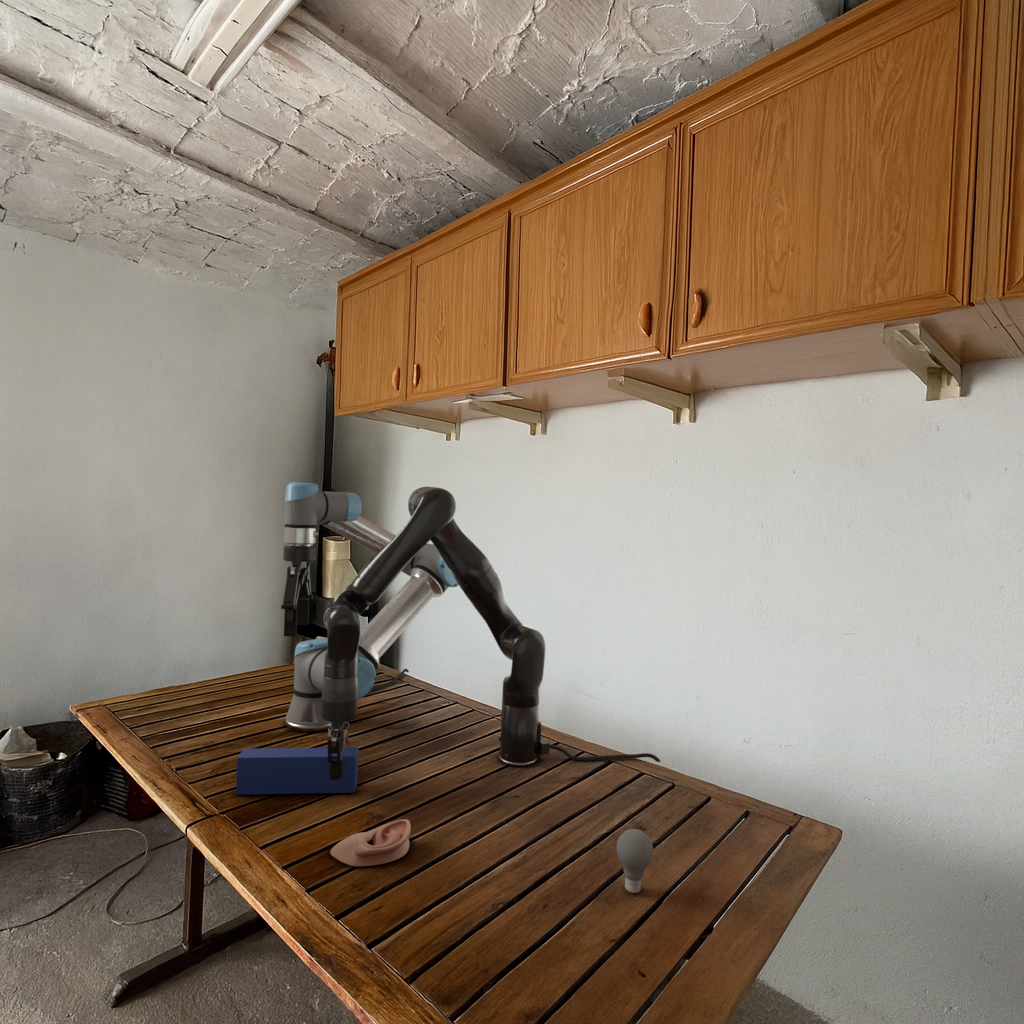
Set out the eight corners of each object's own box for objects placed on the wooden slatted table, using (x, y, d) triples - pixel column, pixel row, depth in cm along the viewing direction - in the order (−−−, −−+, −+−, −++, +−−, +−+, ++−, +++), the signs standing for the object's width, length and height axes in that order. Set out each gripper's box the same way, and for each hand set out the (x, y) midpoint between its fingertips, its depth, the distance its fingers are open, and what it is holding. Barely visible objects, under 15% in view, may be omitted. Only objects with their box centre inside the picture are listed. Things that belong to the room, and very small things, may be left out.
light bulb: (610, 879, 108) (613, 822, 108) (644, 879, 109) (647, 822, 109) (619, 902, 102) (622, 840, 102) (655, 901, 103) (658, 840, 103)
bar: (235, 794, 133) (236, 757, 132) (243, 784, 137) (244, 748, 137) (354, 792, 135) (355, 756, 135) (357, 782, 140) (358, 747, 140)
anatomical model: (322, 838, 110) (352, 807, 121) (321, 861, 110) (351, 828, 121) (394, 850, 107) (417, 817, 119) (393, 873, 107) (416, 838, 119)
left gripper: (304, 549, 145) (301, 641, 145) (324, 541, 170) (321, 620, 170) (270, 548, 144) (267, 641, 144) (295, 540, 169) (292, 620, 169)
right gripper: (353, 706, 130) (350, 788, 131) (361, 685, 144) (359, 759, 145) (315, 706, 129) (313, 788, 130) (328, 685, 144) (326, 759, 144)
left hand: (296, 630), depth 157 cm, fingers open, 13 cm apart
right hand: (337, 772), depth 137 cm, fingers closed on bar, 5 cm apart
